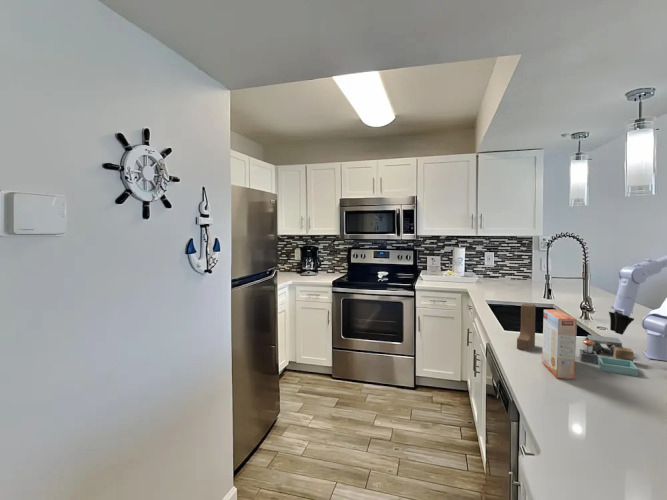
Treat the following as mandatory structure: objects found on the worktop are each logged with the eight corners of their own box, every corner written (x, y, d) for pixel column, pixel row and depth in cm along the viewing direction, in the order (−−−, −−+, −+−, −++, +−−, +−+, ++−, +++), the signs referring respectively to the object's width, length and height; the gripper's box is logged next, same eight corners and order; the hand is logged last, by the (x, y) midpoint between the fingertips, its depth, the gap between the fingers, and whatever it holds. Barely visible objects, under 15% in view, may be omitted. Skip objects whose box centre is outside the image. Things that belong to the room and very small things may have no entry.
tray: (631, 367, 126) (631, 360, 126) (637, 376, 119) (638, 369, 119) (597, 362, 131) (597, 356, 131) (601, 370, 124) (601, 364, 124)
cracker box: (576, 380, 117) (577, 319, 116) (555, 378, 119) (557, 318, 117) (559, 363, 131) (560, 309, 129) (541, 362, 132) (542, 308, 131)
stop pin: (593, 359, 134) (593, 340, 134) (594, 362, 131) (595, 343, 131) (581, 357, 136) (582, 339, 136) (583, 360, 133) (583, 342, 133)
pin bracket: (595, 358, 135) (595, 351, 135) (597, 363, 130) (597, 355, 130) (579, 356, 137) (579, 349, 137) (581, 361, 133) (581, 353, 133)
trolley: (618, 348, 144) (618, 336, 144) (624, 357, 135) (625, 344, 135) (584, 344, 150) (585, 333, 150) (588, 352, 141) (589, 340, 140)
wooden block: (528, 351, 144) (528, 308, 143) (516, 348, 147) (517, 306, 146) (535, 345, 150) (535, 304, 149) (523, 343, 153) (524, 303, 152)
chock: (630, 361, 132) (630, 348, 131) (632, 365, 128) (633, 352, 128) (613, 359, 134) (613, 346, 134) (615, 363, 131) (616, 350, 130)
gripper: (608, 294, 140) (599, 326, 140) (617, 295, 127) (607, 331, 128) (630, 299, 137) (621, 332, 137) (642, 301, 124) (631, 337, 124)
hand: (616, 332), depth 132 cm, fingers open, 7 cm apart
